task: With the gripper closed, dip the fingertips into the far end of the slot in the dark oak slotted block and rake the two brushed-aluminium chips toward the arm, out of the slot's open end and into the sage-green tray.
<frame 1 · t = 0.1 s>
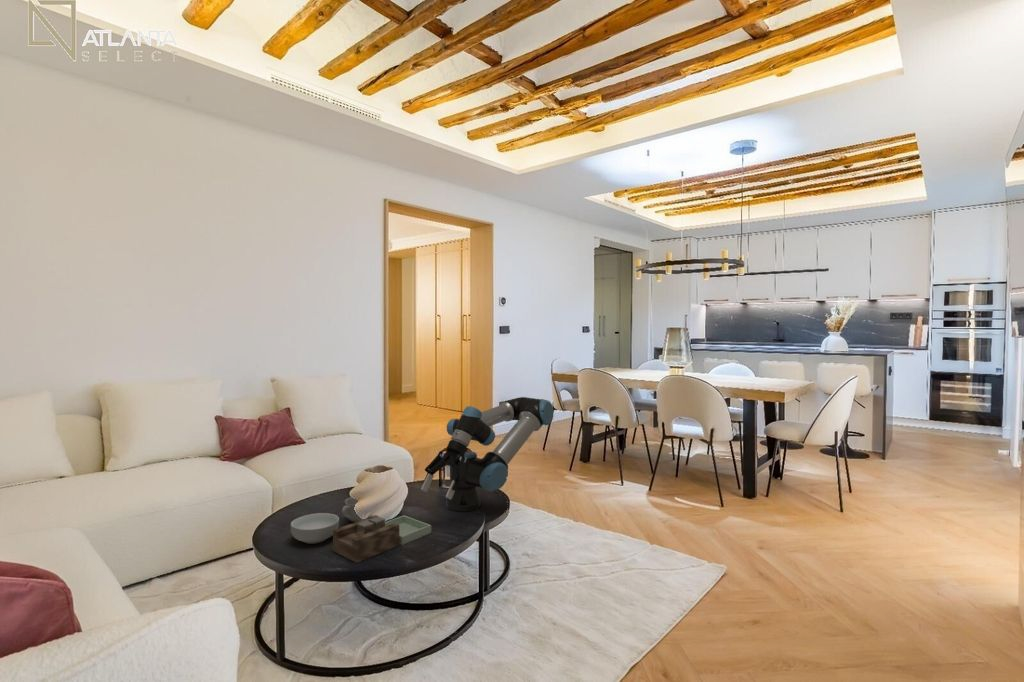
hand: (435, 494, 196), 15 cm above the table, tool tilted 35°, fingers open, 13 cm apart
cereal bowl: (315, 539, 192), on the table
tray: (403, 533, 197), on the table
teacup: (355, 520, 210), on the table
slot block: (366, 548, 184), on the table
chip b: (365, 534, 184), point 5 cm above the table, touching slot block
chip a: (377, 530, 188), point 5 cm above the table, touching slot block
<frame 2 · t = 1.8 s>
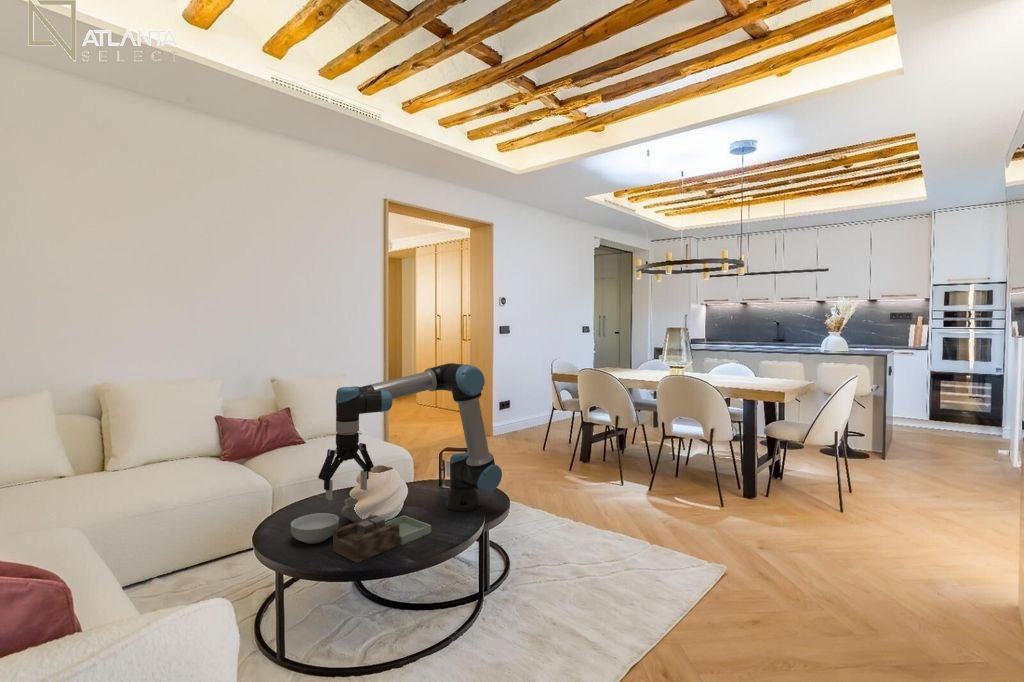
hand: (346, 494, 177), 22 cm above the table, tool pointing down, fingers open, 13 cm apart
nothing on the table moved.
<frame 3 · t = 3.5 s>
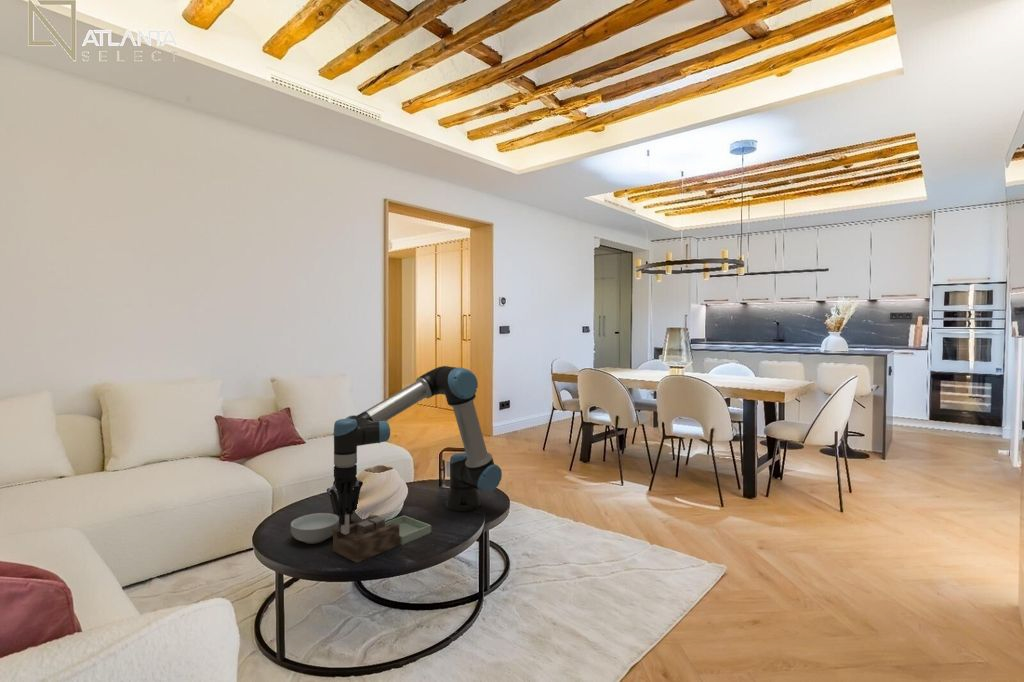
hand: (345, 533, 177), 8 cm above the table, tool pointing down, fingers closed
nothing on the table moved.
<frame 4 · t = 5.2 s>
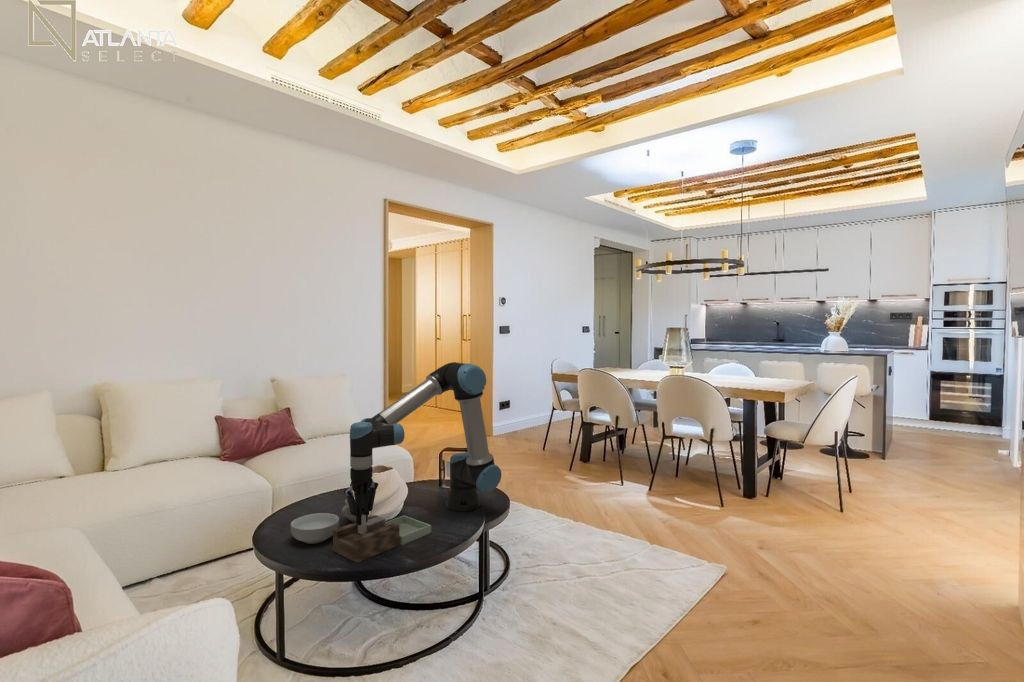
hand: (361, 532, 182), 6 cm above the table, tool pointing down, fingers closed
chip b: (368, 533, 185), point 5 cm above the table, touching chip a, gripper
chip a: (377, 530, 188), point 5 cm above the table, touching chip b
everything else where it was.
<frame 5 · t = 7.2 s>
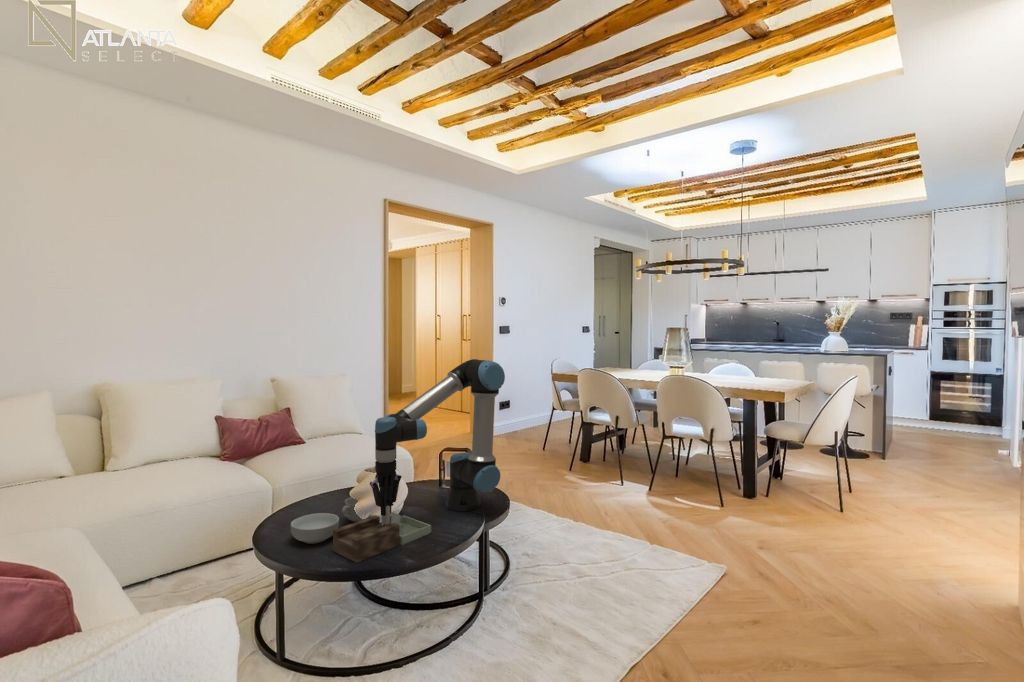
hand: (386, 523, 191), 6 cm above the table, tool pointing down, fingers closed
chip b: (391, 525, 193), point 5 cm above the table, tilted 7°, touching chip a, gripper
chip a: (391, 531, 193), point 2 cm above the table, tilted 90°, touching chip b, tray
everything else where it was.
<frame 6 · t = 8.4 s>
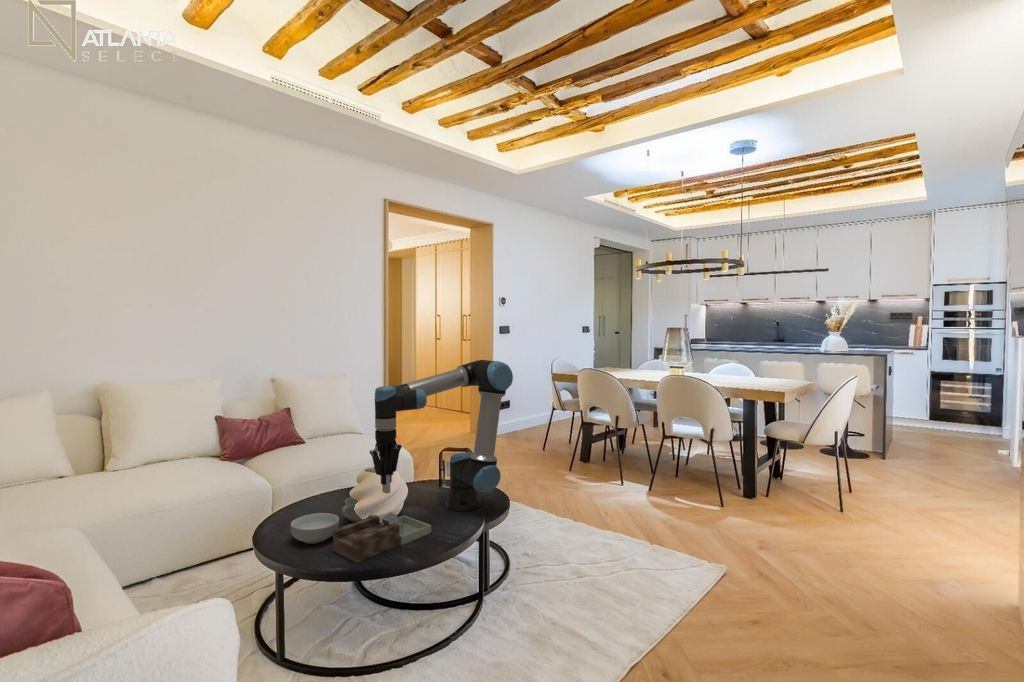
hand: (386, 492, 190), 18 cm above the table, tool pointing down, fingers closed
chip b: (392, 525, 193), point 5 cm above the table, tilted 20°, touching chip a, slot block
everything else where it was.
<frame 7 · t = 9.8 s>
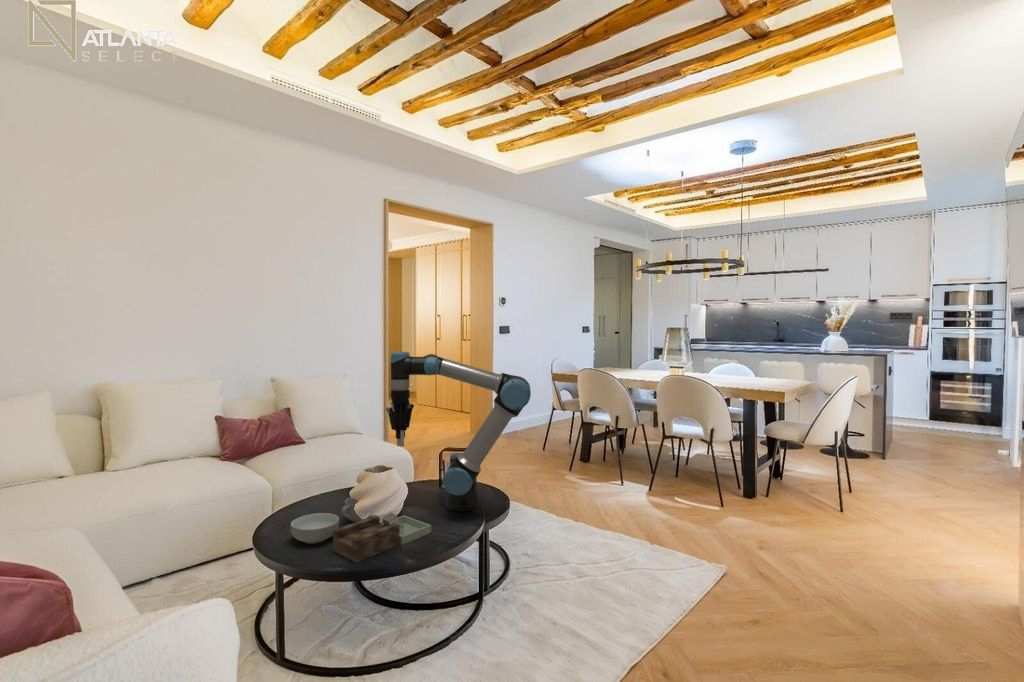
hand: (400, 445, 214), 29 cm above the table, tool pointing down, fingers closed
nothing on the table moved.
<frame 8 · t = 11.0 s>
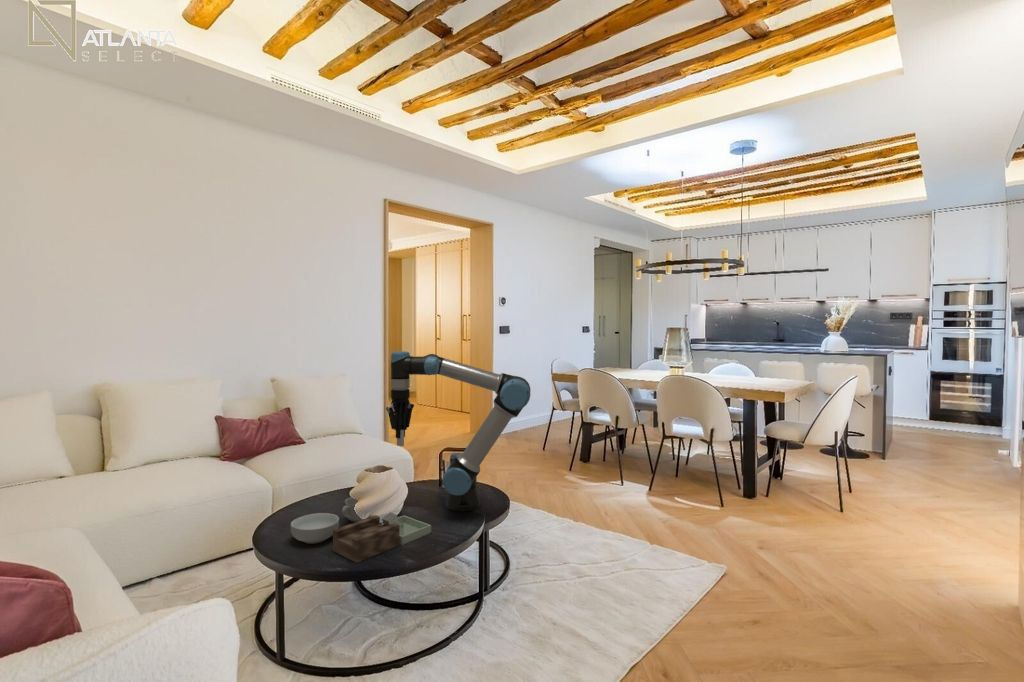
hand: (400, 445, 214), 29 cm above the table, tool pointing down, fingers closed
nothing on the table moved.
at the end: chip a inside the target area on the tray (5.4 cm from its centre), point 2.5 cm above the tray's base; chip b inside the target area on the tray (5.2 cm from its centre), point 4.6 cm above the tray's base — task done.
